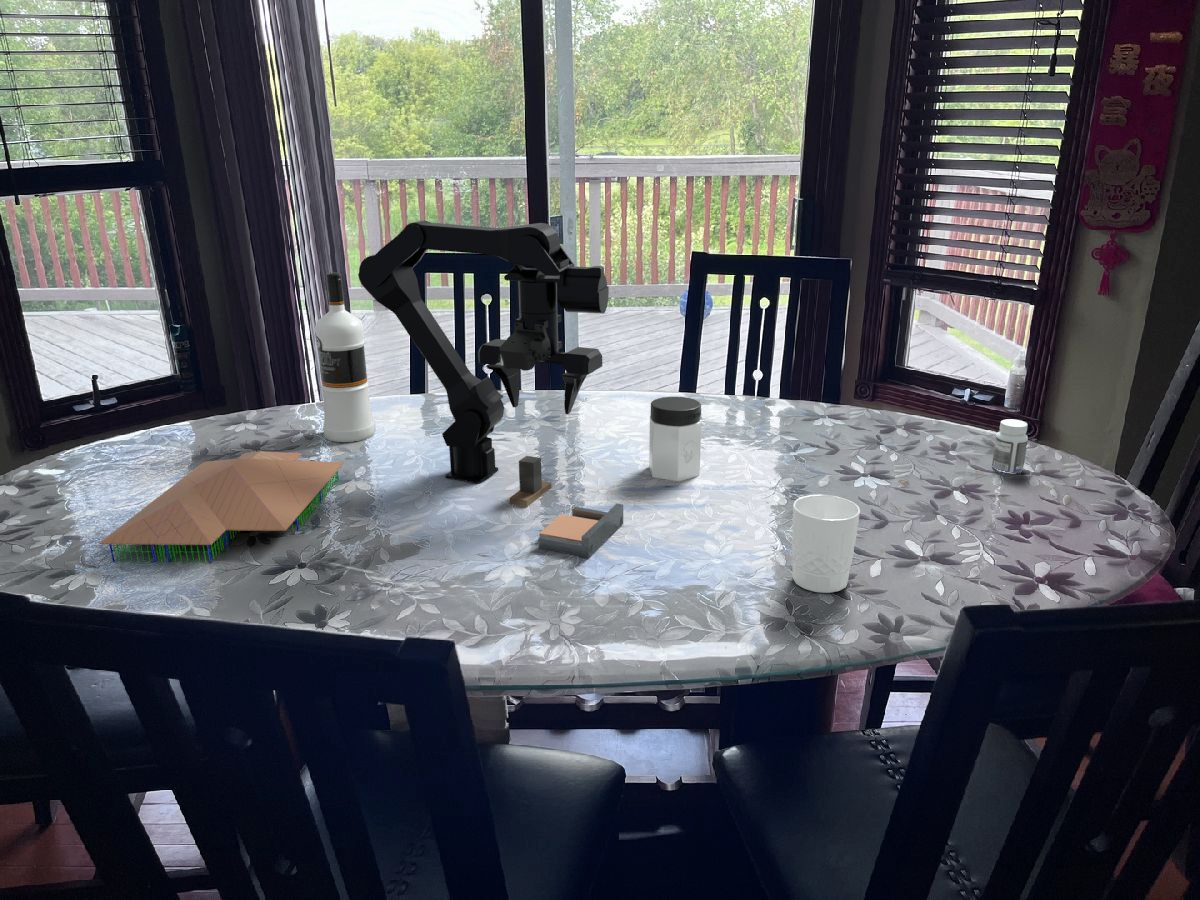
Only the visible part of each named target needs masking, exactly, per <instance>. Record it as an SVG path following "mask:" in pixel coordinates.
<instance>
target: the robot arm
mask: <svg viewBox="0 0 1200 900" xmlns="http://www.w3.org/2000/svg"><path fill="white" fill-rule="evenodd" d="M428 250H429V251H430V250H431V251H440V252H441V251H443V252H451V253H452V252H453V253H465V254H476V255H486V256H487V255H488V256H493V257H497V258H500V259H502V260H504V261H506V262H509V263H511V264H513V266H512V268H511V269H510V270H509V271H508V272H507V274H505V275H503V279H504V280H505V281H512V282H514V281H515V282H516V281H517V283H518V307H519V308H518V309H519V315H518V316H519V317H518V318H516V319H515V322H514V329H513V334H510V335H509V336H508V337H507V338H506V339H501V338H500V339H499V338H496V339H493V340H490V341H488V342H485V343H483V344H481V346H480V347H479V349H478V352H477V354H478V355H477V356H478V363H479V364H482V365H486V366H485V367H486V368H487V370H491V371H492V372H493V373H495V374H496V375H498V378H499V379H500V381H501V383H502V385H503V387H504V389H505V392H506V394H507V396H508V400H509V401H510V403H511V406H512V408H517V407H518V406H519V400H520V381H521V379H520V377H521V376H520V374H521V373H520V371H524V372H527V371H530V370H532V369H534V367H535V365H536V363H542V364H543V363H544V364H554V365H562V368H563V370H564V371H565V372H564V373H562V374H561V378H562V380H563V382H564V403H563V404H564V406H563V407H564V414H565V415H570V414H571V412H572V410H573V407H574V404H575V402H576V399H577V398H578V394H579V392H580V390H581V387H582V385H583V383H584V381H585V380H586V378H587V376H589V375H591V374H592V373H594V372H595V371H597V370H599V369H600V368H602V367H603V354H602V353H601V351H600V349H599V348H594V347H583V346H582V347H581V346H577V347H575V348H573V349H571V350H569V351H567V352H566V351H559V350H560V349H563V342H562V341H559V328H558V326H559V323H561V322H562V314H558V305H559V307H560V308H564V311H565V312H566V313H578V314H579V313H581V314H582V313H583V314H602V315H604V314H606V311H607V310H608V308H607V307H608V303H609V296H610V295H609V294H610V292H609V291H610V289H609V288H610V287H609V286H608V281H607V277H606V275H605V267H604V266H603V265H594V266H575V264H574V262H573V261H572V259H571V258H570V256H569V255H568V254H567V252H566V250H565V249H564V248H563V246H562V245H561V239H560V236H559V233H558V232H557V231H556V229H555V228H554V227H553V226H552V225H550V224H548V223H545V222H539V223H538V222H537V223H531V224H530V223H529V224H521V225H513V226H508V227H507V226H506V227H488V226H479V225H477V226H476V225H464V224H452V223H441V222H440V223H439V222H431V221H429V220H419V221H413V222H409V223H408V224H406V225H405V227H404V228H403V229H402V230H401V231H400V232H399V233H398V235H396V236H395V237H394V238H393V239H391V240H390V241H389V242H388V243H387V244H385V245H384V246H383V247H382V248H380V249H379V250H378V251H377V253H375V254H372V255H369V256H367V257H365V258H364V259H362V261H361V263H360V265H359V269H358V274H357V276H358V281H359V282H360V284H361V286H362V287H363V288H364V289H365V290H366V291H367V293H369V295H370V296H372V298H373V299H374V300H375V301H376V302H378V303H379V304H380V305H382V307H385V308H386V309H388V310H389V311H390V312H392V313H393V314H394V315H395V316H396V318H397V319H398V321H399V322H400V324H401V325H402V327H403V328H404V330H405V332H407V335H409V337H410V339H411V340H412V342H413V343H414V345H415V346H416V348H417V349H418V350H419V352H420V354H421V355H422V356H423V358H424V359H425V361H426V362H427V364H428V365H429V367H430V368H431V369H432V371H433V373H434V374H435V376H436V377H437V379H438V380H439V381H440V383H441V385H442V386H443V388H444V389H445V391H446V395H447V401H448V407H449V411H450V412H451V415H452V417H453V419H454V422H453V423H451V424H450V425H449V426H448V428H446V429H445V431H443V433H442V438H443V440H444V443H445V445H446V447H449V448H448V450H449V464H450V465H449V466H450V471H449V472H447V473H446V474H445V478H446V479H451V480H455V481H457V480H458V481H464V482H468V483H475V484H480V483H483V482H484V481H485V480H486V479H488V478H490V477H491V476H493V475H494V474H496V473H497V472H498V471H499V467H497V466H496V449H495V448H494V447H493V439H492V437H488V435H490V434H492V433H493V432H494V429H495V427H496V425H497V424H498V423H500V422H501V420H502V419H503V417H504V413H505V405H504V403H503V400H502V398H504V395H502V394H501V393H500V392H499V391H498V390H497V389H496V387H495V385H494V383H493V380H492V379H491V378H490V377H489V376H486V377H485V378H483V379H480V378H478V377H477V376H476V375H474V374H473V373H472V372H471V371H470V369H469V368H468V366H467V365H466V363H465V362H464V360H463V359H462V357H461V356H460V354H459V353H458V351H457V350H456V349H455V347H454V345H453V344H452V342H451V341H450V339H449V337H448V336H447V335H446V333H445V332H444V331H443V329H442V327H441V326H440V324H439V323H438V321H437V320H436V318H435V317H434V315H433V314H432V313H431V311H430V310H429V308H428V307H427V304H425V302H424V301H423V299H422V297H421V293H420V292H421V291H420V287H419V282H418V278H417V276H416V273H415V271H414V269H413V268H414V267H416V265H417V264H418V263H419V262H421V260H422V258H423V257H424V255H425V254H426V252H427V251H428Z"/></svg>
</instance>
